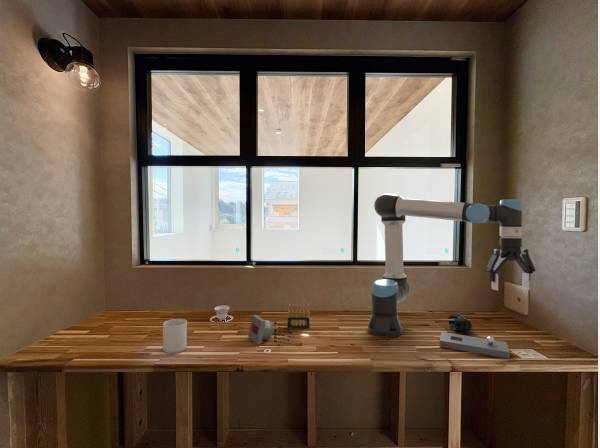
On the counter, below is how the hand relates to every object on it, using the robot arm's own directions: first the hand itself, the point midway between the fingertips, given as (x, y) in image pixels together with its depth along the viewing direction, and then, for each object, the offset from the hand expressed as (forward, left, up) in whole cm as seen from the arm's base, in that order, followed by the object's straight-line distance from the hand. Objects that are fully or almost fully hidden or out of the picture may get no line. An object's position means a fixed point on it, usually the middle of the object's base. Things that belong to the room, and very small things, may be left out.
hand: (510, 289), depth 127 cm
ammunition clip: (-87, -20, -24) cm, 93 cm away
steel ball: (-7, -7, -20) cm, 22 cm away
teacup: (-128, -28, -24) cm, 134 cm away
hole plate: (-13, -7, -24) cm, 28 cm away
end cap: (-18, +13, -24) cm, 33 cm away
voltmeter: (-87, -42, -24) cm, 100 cm away
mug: (-119, -65, -24) cm, 138 cm away
